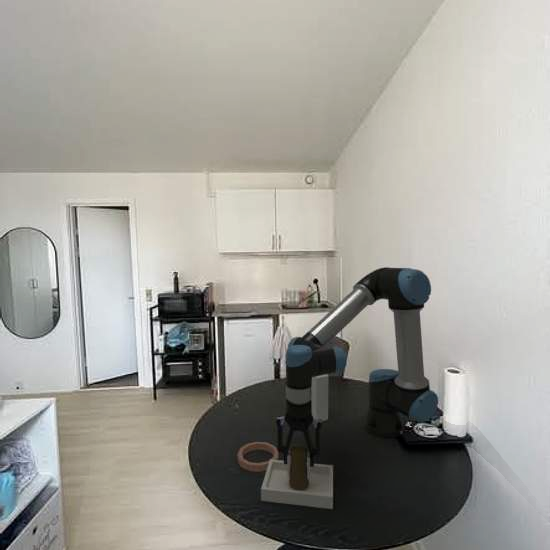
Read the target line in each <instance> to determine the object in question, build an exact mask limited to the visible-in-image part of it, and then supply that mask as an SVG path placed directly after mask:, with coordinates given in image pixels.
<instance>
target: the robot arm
mask: <svg viewBox="0 0 550 550" xmlns="http://www.w3.org/2000/svg"><path fill="white" fill-rule="evenodd" d="M431 295H432V285H431V280H430V278H429V277H428V276H427V274H426V273H425V272H423V271H422V270H420V269H415V268H410V267H409V268H408V267H380V268H378V269H377V268H376V269H374V270H372V271H371V272H370V273H368V274H366V275H365V276H363V277H362V278H361V279H359V281H357V282H356V283H355V284H354V285H353V286H352V290H351V292H349V293H348V294H347V295H346V296H345V297H344V298H342V299H341V300H340V302H339V303H337V304H336V306H334V307H333V308H332V309H331V310H330V311H329V312H328V313H326V314H325V316H323V317H322V318H321V319H320V320H319V321H318V322H317V323H316V324H315V325H313V326H312V327H311V328H310V329H309V330H308V331H307V332H306V333H305V334H304V335H303V336H295V337H293V338H291V339H290V341H289V342H288V344H287V349H286V352H285V363H284V364H285V398H286V399H285V415H284V416H281V415H278V416H276V421H275V424H276V426H277V447H276V449H277V450H278V453H282V455H283V461H284V464H287V477H290V470H291V461H292V457H291V455H290V450H289V449H290V446H291V442H292V438H293V435H294V433H295V432H302V434H303V436H304V439H305V440H304V441H305V443H306V448H307V451H308V455H307V458H306V463H307V479H310V467H313V466H314V464H315V457H316V456H320V455H321V428H322V425H323V424H322V423H323V421H322V420H321V419H318V420H317V419H314V418H313V416H312V401H311V398H312V377H317V376H321V375H326V374H328V375H330V374H336V373H338V372H341V371H344V370H345V369H346V367H347V356H346V353H345V351H344V350H343V349H342V348H341V347H339V346H330V347H326V346H327V345H328V344H329V343H330V342H331V341H332V340H333V339H334V338H335V337H336V336H337V335H339V333H340V332H342V331H343V330H344V328H346V327H347V326H349V324H350V323H351V322H352V321H353V320H354V319H355V318H356V317H357V316H358V315H359V314H360V313H361V312H362V311H363V310H365V308H367V307H368V306H372V305H374V304H375V303H376V302H377V301H380V300H387V304H388V306H387V307H388V309H389V310H390V311H391V312H393V322H394V334H395V347H396V348H395V349H396V360H397V362H396V363H397V369H389V368H380V369H374V370H372V371H371V372H369V376H368V408H367V411H366V414H365V417H364V419H363V426H364V427H363V428H364V429H365V430H366V431H367V433H370V434H372V435H373V436H377V437H380V438H381V437H382V438H388V439H389V438H390V439H393V438H397V437H400V436H399V432H400V431H402V430H403V428H404V429H405V424H404V421H403V417H402V415H404V416H405V417H408V418H409V419H410V420H413V421H416V422H418V423H425V422H427V421H429V420H430V419H431V418H432V417H433V416H434V414H435V413H436V411H437V409H438V405H439V396H438V394H437V393H436V392H435V391H433V390H431V387H430V386H431V385H430V380H429V378H427V377H426V376H425V369H424V368H425V367H424V357H423V356H424V354H423V342H422V341H423V340H422V339H423V338H422V325H421V323H422V322H421V312H422V310H423V309H424V308H425V304H426V303H427V302H428V301H429V299H430V296H431ZM285 422H286V424H287V425H288V427H289V430H288V435H287V438H286V441H285V445H284V441H283V440H284V437H283V436H284V425H285ZM311 425H313V427H314V428H315V431H314V432H315V448H314V445H313V441H312V437H311V434H310V429H309V427H311Z"/></svg>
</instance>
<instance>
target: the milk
mask: <svg viewBox="0 0 550 550" xmlns="http://www.w3.org/2000/svg"><path fill="white" fill-rule="evenodd" d="M311 401H312V416H313V418H314V419H317V420H318V419H321V420H322V422H324V421H325V422H326V421H328V420H329V374H326V375H321V376H317V377H312V398H311Z"/></svg>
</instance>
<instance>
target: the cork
mask: <svg viewBox="0 0 550 550" xmlns="http://www.w3.org/2000/svg"><path fill="white" fill-rule="evenodd" d="M289 451H290V455H291V461H292V462H291V470H290V477H289V484H290V486H291V487H292V488H295V489H305V488H306V487H308V485H309V479H307V456H308V452H309V451H308V447H307V446H305V445H304V444H301V443H298V444H293V445H292V446H291V447H290V450H289Z"/></svg>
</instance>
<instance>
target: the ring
mask: <svg viewBox="0 0 550 550" xmlns="http://www.w3.org/2000/svg"><path fill="white" fill-rule="evenodd" d="M257 450H259V451H265V452H268V453H269V454H271V455H272V456H273V457H272V458H270V459H271V460H279V452H278V450H277V447H276V446H275V445H273V444H270V443H269V442H264V441H255V442H250V443H246V444H245V445H242V446H241V447H240V448H239V451H238V452H237V463H238V464H239V467H241V469H244V470H246V471H248V472H254V473H261V472H262V473H263V472H266V471H267V468H268V464H269V461H270V459H268V460H267V461H263V462H250V461H248V460H247V459H245V458H244V456H245V455H246V454H248V453H249V452H253V451H257Z"/></svg>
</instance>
